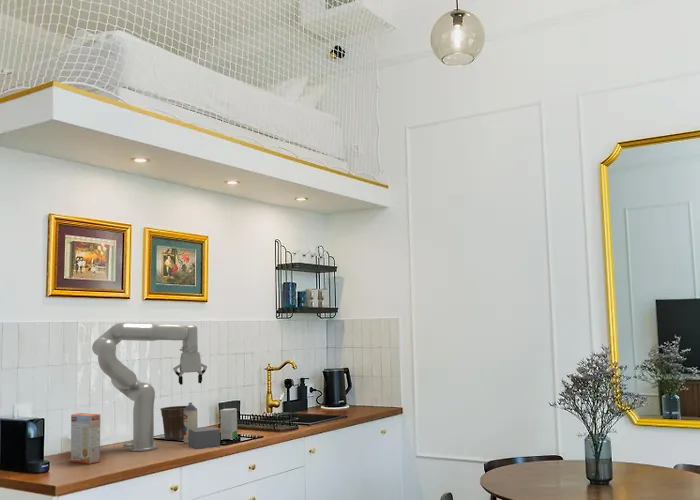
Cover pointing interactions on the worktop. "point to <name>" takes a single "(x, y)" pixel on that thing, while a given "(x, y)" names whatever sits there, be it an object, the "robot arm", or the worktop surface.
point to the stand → (204, 437)
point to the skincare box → (228, 423)
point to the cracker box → (85, 438)
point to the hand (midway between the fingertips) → (190, 383)
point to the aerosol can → (189, 421)
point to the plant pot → (173, 422)
